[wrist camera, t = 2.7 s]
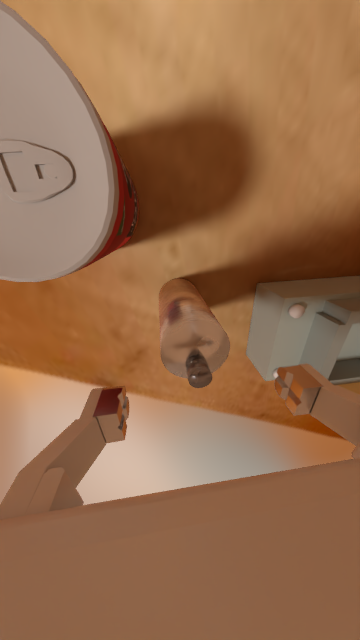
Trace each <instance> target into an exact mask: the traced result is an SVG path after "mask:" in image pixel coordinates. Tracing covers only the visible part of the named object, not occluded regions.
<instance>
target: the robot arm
mask: <svg viewBox="0 0 360 640" xmlns="http://www.w3.org/2000/svg"><path fill="white" fill-rule="evenodd" d="M277 374H278V375H279V376H278V377H277V378H276V379H275V382H274V385H275V390H276V392H277V393H278V395H279V396H280V397H281V398H283V399H285V404H286V406H287V407H288V408H289V409H290V411H291V412H292V413H293V415H302V414H310V415H312V416H313V417H315V418H316V419H318V420H319V421H320V422H322V423H323V424H325V425H326V426H328V427H329V428H331V429H332V430H334V431H335V432H336V433H338V434H339V435H341V436H342V437H344V438H345V439H347V440H348V441H350V442H351V443H353V444H354V445H355V446H356V447H355V449H354V450H353V452H352V457H353V458H354V459H350V460H344V461H339V462H333V463H327V464H322V465H315V466H309V467H303V468H298V469H292V470H286V471H280V472H274V473H269V474H262V475H257V476H251V477H245V478H239V479H234V480H228V481H222V482H216V483H210V484H204V485H199V486H193V487H187V488H181V489H176V490H169V491H164V492H158V493H152V494H146V495H141V496H135V497H129V498H123V499H117V500H112V501H106V502H100V503H94V504H88V505H83V500H82V498H81V496H80V495H79V493H78V492H77V490H76V487H77V485H78V484H79V483H80V481H81V480H82V478H83V477H84V475H85V474H86V472H87V471H88V470H89V468H90V467H91V465H92V464H93V462H94V461H95V460H96V458H97V457H98V455H99V454H100V452H101V451H102V450H103V448H104V446H105V445H106V443H110V442H116V441H122V440H125V435H126V429H127V425H126V420H127V418H128V415H129V400H128V397H126V388H125V386H116V387H106V388H97V389H93V390H92V391H91V392H90V395H89V398H88V400H87V402H86V405H85V407H84V409H83V412H82V414H81V417H80V419H78V420H75V421H74V422H73V423H72V424H71V425H70V426H69V427H68V428H67V429H65V430H64V431H63V432H62V433H61V434H60V435H59V436H58V437H57V438H56V439H54V440H53V441H52V442H51V443H50V444H49V445H48V446H47V447H46V448H45V449H44V450H43V451H41V452H40V453H39V455H37V456H36V457H35V458H34V459H33V460H32V461H31V462H30V463H29V464H27V465H26V466H25V467H24V468H23V469H22V470H21V471H20V472H19V473H18V475H17V477H16V478H15V480H14V482H13V484H12V485H11V487H10V489H9V491H8V492H7V494H6V496H5V497H4V499H3V501H2V503H1V504H0V640H360V395H359V394H357V393H354V392H352V391H350V390H347V389H345V388H343V387H340V386H338V385H333V384H332V383H331V382H330V381H328V380H327V379H326V378H325V377H324V376H323V375H321V374H320V373H319V372H318V371H317V370H316V369H314V368H313V367H312V366H311V365H309V364H307V363H305V364H298V365H290V366H283V367H279V368H278V370H277Z"/></svg>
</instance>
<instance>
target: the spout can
mask: <svg viewBox="0 0 360 640" xmlns="http://www.w3.org/2000/svg"><path fill="white" fill-rule="evenodd" d="M159 318H160V347H161V359H162V362H163V364H164V366H165V367H166V368H167V369H168V370H169V371H170V372H171V373H173V374H174V375H176V376H179V377H183V378H188V380H189V384H190V385H191V386H193V387H195V388H202V387H205V386H207V385H208V384H209V383H210V382H211V381H212V374H211V373H213V372H214V371H216V370H217V369H218V368H219V367H220V366H222V364H223V363H224V362H225V360H226V359H227V357H228V354H229V350H230V342H229V338H228V336H227V334H226V333H225V331H224V330H223V328H222V327H221V325H220V324H219V322H218V321H217V319H216V318H215V316H214V315H213V313H212V312H211V310H210V309H209V307H208V306H207V304H206V303H205V301H204V300H203V298H202V297H201V295H200V294H199V292H198V290H197V289H196V287H195V286H194V285H193V284H192V283H191V282H190V281H188V280H186V279H181V278H177V279H172V280H170V281H168V282H167V283H165V284H164V285H163V287H162V288H161V290H160V293H159Z"/></svg>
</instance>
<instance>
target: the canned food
mask: <svg viewBox="0 0 360 640" xmlns="http://www.w3.org/2000/svg"><path fill="white" fill-rule="evenodd" d="M138 217H139V201H138V197H137V192H136V189H135V187H134V184H133V182H132V180H131V178H130V175H129V173H128V171H127V169H126V167H125V165H124V163H123V161H122V159H121V157H120V155H119V153H118V151H117V149H116V147H115V145H114V143H113V141H112V139H111V137H110V134H109V132H108V130H107V128H106V127H105V125H104V123H103V122H102V120H101V118H100V116H99V114H98V112H97V110H96V109H95V107H94V105H93V104H92V102H91V100H90V99H89V97H88V95H87V94H86V92H85V90H84V89H83V87H82V85H81V84H80V82H79V81H78V80H77V79H76V77H75V76H74V75H73V73H72V71H71V70H70V69H69V68H68V66H67V65H66V64H65V63H64V62H63V60H62V59H61V58H60V57H59V55H58V54H57V53H56V52H55V50H54V49H53V48H52V47H51V45H50V44H49V43H48V42H47V41H46V39H45V38H43V37H42V36H41V35H40V34H39V33H38V32H37V31H36V30H35V29H34V28H33V27H32V26H31V25H29V24H28V23H27V22H26V21H25V20H24V19H23V18H22V17H21V16H20V15H19V14H18V13H16V12H15V11H14V10H13V9H11V8H10V7H8V6H7V5H6V4H4V3H3V2H1V1H0V279H4V280H10V281H16V282H39V281H44V280H50V279H56V278H58V277H63V276H66V275H68V274H71V273H73V272H76V271H78V270H80V269H82V268H84V267H87V266H88V265H90V264H92V263H94V262H95V261H97V260H99V259H101V258H103V257H104V256H106V255H108V254H110V253H111V252H113V251H115V250H117V249H118V248H120V247H121V246H123V245H124V244H125V243H126V242H127V241H128V240H129V239H130V238H131V236H132V234H133V233H134V231H135V229H136V226H137V223H138Z"/></svg>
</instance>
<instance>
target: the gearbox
mask: <svg viewBox="0 0 360 640" xmlns="http://www.w3.org/2000/svg"><path fill="white" fill-rule="evenodd" d="M246 355H247V356H248V358H249V359H250V360H251V362H252V363H253V365H254V366H255V367H256V369H257V370H258V372H259V373H260V374H261V376H262V377H263V379H264V380H265V381H270V380H275V379H276V378H277V377H278V376H279V375H278V374H277V370H278V368H279V367H283V366H290V365H298V364H305V363H307V364H309V365H311V366H312V367H313V368H314V369H316V370H317V371H318V372H319V373H320V374H321V375H323V376H324V377H325V378H326V379H327V380H328V381H330V382H331V383H332V384H333V385H338V386H340V387H343V388H345V389H347V390H350V391H352V392H354V393H357V394H359V395H360V275H359V276H346V277H333V278H320V279H307V280H294V281H281V282H268V283H257V286H256V293H255V299H254V306H253V312H252V319H251V325H250V331H249V338H248V344H247V351H246Z"/></svg>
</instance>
